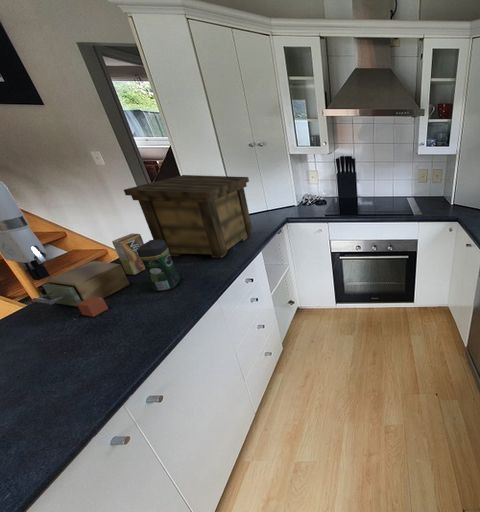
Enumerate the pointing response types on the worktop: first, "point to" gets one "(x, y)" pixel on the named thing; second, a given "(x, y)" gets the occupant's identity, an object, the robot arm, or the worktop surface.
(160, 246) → the coffee jar
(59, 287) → the drawer
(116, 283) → the cabinet
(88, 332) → the worktop surface
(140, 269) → the candy box
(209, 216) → the crate
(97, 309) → the block
